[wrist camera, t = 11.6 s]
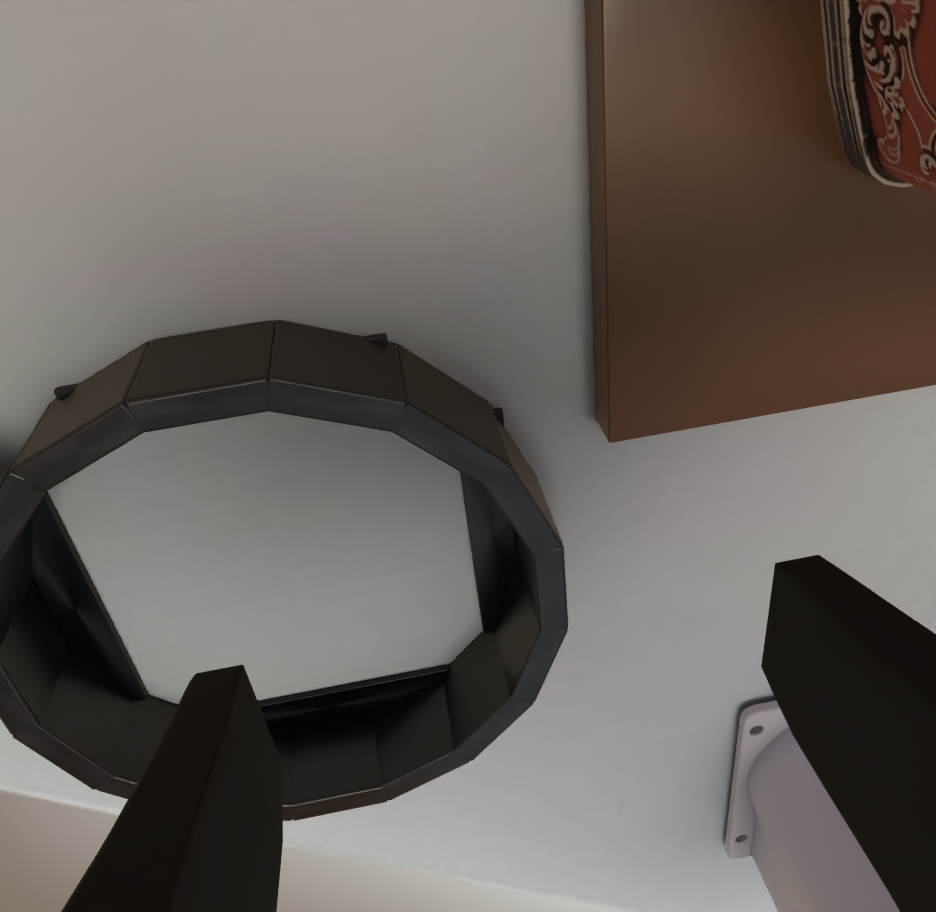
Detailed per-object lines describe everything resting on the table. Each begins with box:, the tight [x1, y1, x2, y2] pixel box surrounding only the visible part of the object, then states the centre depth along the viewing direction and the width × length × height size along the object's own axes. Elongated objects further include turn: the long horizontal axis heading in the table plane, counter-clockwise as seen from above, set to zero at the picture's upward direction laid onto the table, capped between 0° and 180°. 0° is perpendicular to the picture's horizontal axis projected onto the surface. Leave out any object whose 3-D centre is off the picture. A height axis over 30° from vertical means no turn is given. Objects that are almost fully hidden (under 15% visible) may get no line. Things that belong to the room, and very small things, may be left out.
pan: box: [0, 321, 568, 821], centre depth 20 cm, size 19×22×3 cm
